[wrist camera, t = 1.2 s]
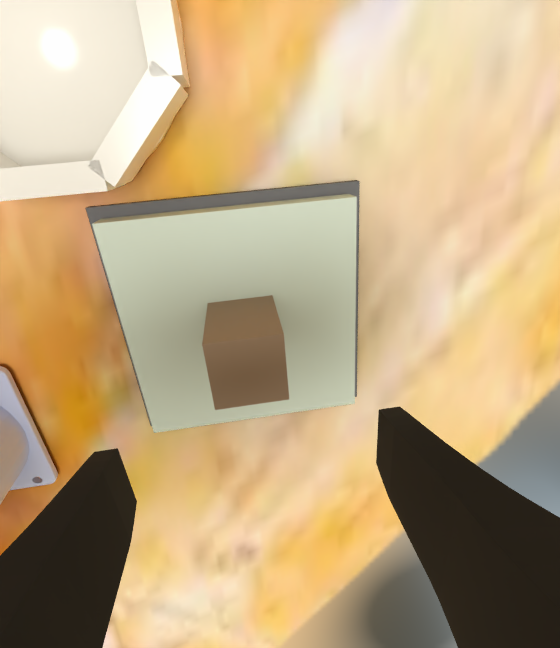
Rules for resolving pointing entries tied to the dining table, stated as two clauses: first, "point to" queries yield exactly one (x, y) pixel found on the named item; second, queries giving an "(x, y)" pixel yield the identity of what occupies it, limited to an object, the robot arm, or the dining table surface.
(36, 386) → the dining table surface
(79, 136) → the dish
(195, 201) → the mat
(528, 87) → the dining table surface
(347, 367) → the lid
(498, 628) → the robot arm
